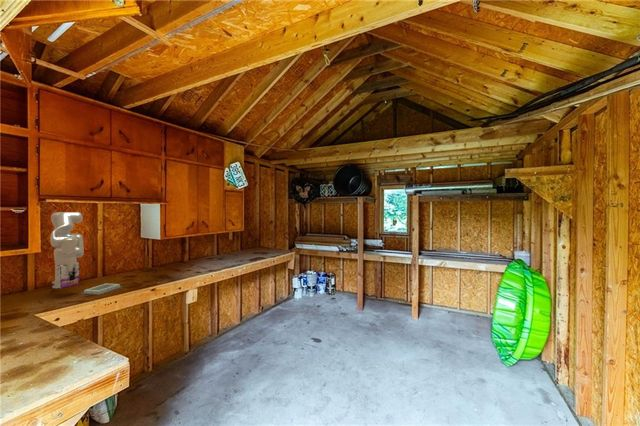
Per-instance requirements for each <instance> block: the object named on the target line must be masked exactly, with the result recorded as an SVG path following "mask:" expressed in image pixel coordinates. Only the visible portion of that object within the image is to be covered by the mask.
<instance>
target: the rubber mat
mask: <svg viewBox="0 0 640 426" xmlns="http://www.w3.org/2000/svg"><path fill="white" fill-rule="evenodd" d="M105 288H108V287H103V288H100V289H97V290H102V289H105ZM122 288H124V285H123V286H122V285H120V287H117V288H114V289H111V290H109V291H106V292H103V293H100V294H93V293H84V291H83V292H80V293H79V295H88V296H89V295H90V296H92V295H93V296H101V294H102V295H104V293H105V294H108V293H111V292H113V290H114V291H116V290H119V289H122ZM110 291H111V292H110ZM107 292H108V293H107Z"/></svg>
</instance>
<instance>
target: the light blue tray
mask: <svg viewBox="0 0 640 426" xmlns="http://www.w3.org/2000/svg"><path fill="white" fill-rule="evenodd" d="M120 286H121V284H119V283H104V284H100V285H97V286H96V285H95V286H93V287H90V288H87V289H84V290H83V292H84V293H93V294H100V293H103V292H106V291H109V290H111V289H114V288H117V287H120ZM103 287H108V288H105V289H102V290H97V289H100V288H103Z"/></svg>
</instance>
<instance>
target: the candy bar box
mask: <svg viewBox="0 0 640 426" xmlns="http://www.w3.org/2000/svg"><path fill="white" fill-rule="evenodd" d="M66 267H67V266H66V265H57V288H56V289H65V288H69V287H74V286H78V285H80V262H78V261H77V268H78V269H79V271H77V273H76V274H75V280H71V281H70V275H71V274H70V271H69V272H68V271H66ZM72 273H73V271H72Z"/></svg>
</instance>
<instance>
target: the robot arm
mask: <svg viewBox="0 0 640 426" xmlns="http://www.w3.org/2000/svg"><path fill="white" fill-rule="evenodd" d="M83 219H84V218H83V214H82V213H81V212H78V211H75V212H74V211H73V212H72V211H64V212H63V211H58V212H53V213H52V214H51V215H50V220H51V223H52V226H53V227H54V229H53V230H52V232H51V233H50V245H51V246H52V247H53V248H55V249H54V250H53V257H54V265H55V266H54V280H53V281H52V282H51V284H53V285H52V289H58V288H57V265H66V266H67V267H66V271H68V272H69V271H70V274H71V275H70V281H71V280H75V274H76V273H77V271H79V272H80V268H79V269H78V268H77V262H78V260H77V258H78V259H79V258H82V257H83V256H84V254H85V251H84V250H85V248H84V238H83V235H82V234H80V233H72V232H71V231H73V230H74V229H75V228H74V224H75V223H77V224H78V223H81V222H83ZM72 271H73V273H72Z"/></svg>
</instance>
